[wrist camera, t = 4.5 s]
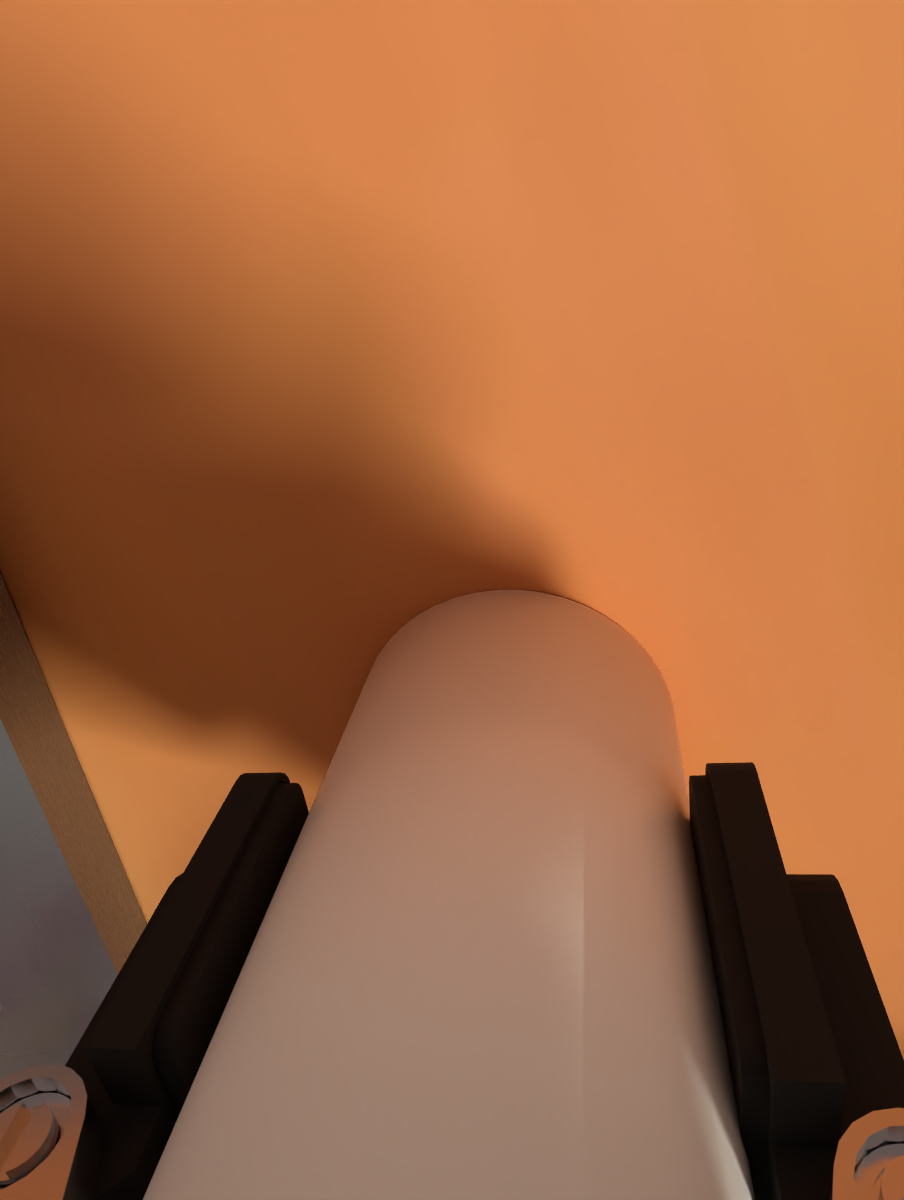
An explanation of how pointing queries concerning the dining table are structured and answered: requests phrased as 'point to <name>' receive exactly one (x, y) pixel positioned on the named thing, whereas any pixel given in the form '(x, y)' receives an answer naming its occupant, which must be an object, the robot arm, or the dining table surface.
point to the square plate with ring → (51, 873)
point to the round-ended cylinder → (480, 944)
